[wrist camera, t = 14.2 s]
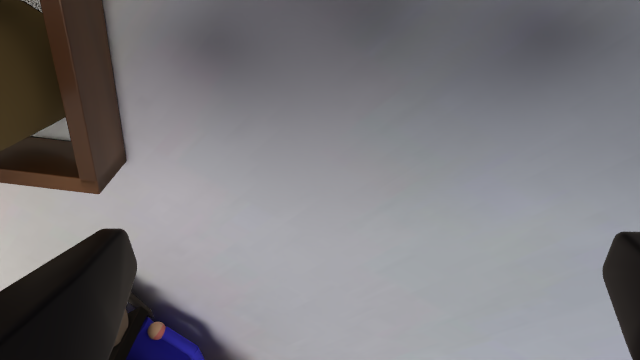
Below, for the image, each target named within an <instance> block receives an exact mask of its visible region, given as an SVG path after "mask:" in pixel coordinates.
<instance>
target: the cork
mask: <svg viewBox="0 0 640 360" xmlns="http://www.w3.org/2000/svg"><path fill="white" fill-rule="evenodd" d="M64 117H66V115H65V111H64V107H63V102H62V98H61V93H60V89H59V84H58V80H57V75H56V71H55V66H54V62H53V57H52V53H51V48H50V44H49V39H48V35H47V30H46V26H45V21H44V17H43V14H42V13H41V12H39V11H37V10H36V9H34V8H33V7H31V6H29V5H28V4H26V3H25V2H23V1H19V0H0V151H2V150H4V149H6V148H8V147H10V146H12V145H14V144H16V143H17V142H19V141H21V140H23V139H25V138H27V137H29V136H31V135H33V134H35V133H36V132H38V131H40V130H42V129H44V128H46V127H48V126H50V125H52V124H54V123H55V122H57V121H59V120H61V119H63V118H64Z"/></svg>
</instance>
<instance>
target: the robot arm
mask: <svg viewBox="0 0 640 360" xmlns="http://www.w3.org/2000/svg"><path fill="white" fill-rule="evenodd" d="M136 271H137V262H136V258H135V255H134V252H133V249H132V246H131V243H130V240H129V237H128V235H127V233H126V231H125V230H123V229H101V230H99V231H98V232H96V233H94V234H93V235H91V236H90V237H88V238H86V239H85V240H83V241H81V242H80V243H78V244H77V245H75V246H73V247H72V248H70V249H68V250H67V251H65V252H64V253H62V254H60V255H59V256H57V257H55V258H54V259H52V260H50V261H49V262H47V263H46V264H44V265H42V266H41V267H39V268H37V269H36V270H34V271H33V272H31V273H29V274H28V275H26V276H24V277H23V278H21V279H20V280H18V281H16V282H15V283H13V284H11V285H10V286H8V287H7V288H5V289H3V290H2V291H0V360H108V359H109V357H110V354H111V352H112V349H113V347H114V344H115V341H116V338H117V335H118V332H119V329H120V325H121V322H122V319H123V315H124V312H125V309H126V305H127V302H128V299H129V296H130V292H131V289H132V286H133V282H134V279H135V276H136ZM603 278H604V282H605V285H606V287H607V290H608V293H609V296H610V299H611V302H612V304H613V307H614V310H615V313H616V316H617V319H618V321H619V324H620V327H621V330H622V333H623V335H624V338H625V341H626V344H627V346H628V349H629V352H630V354H631V357H632V359H633V360H640V232H620V233H618V234H617V235H616V236H615V238H614V240H613V242H612V245H611V247H610V250H609V252H608V255H607V257H606V260H605V262H604V265H603Z"/></svg>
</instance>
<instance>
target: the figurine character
mask: <svg viewBox="0 0 640 360" xmlns="http://www.w3.org/2000/svg"><path fill="white" fill-rule="evenodd" d="M128 302H129V303H130V304H131V305H133V306H134V307H135V308H136V309H135V310H133V311H132V312H130V313H128V314H127V311H126V309H125V312H124V315H123V319H122V322H121V325H120V329H119V332H118V335H117V338H116V341H115V344H114V347H113V349H112V352H111V354H110V357H109V359H108V360H205V359H204V357H203V355H202V353H201V351H200V349H199V347H198V346H197V345H196V344H194V343H193V342H191V341H189V340H188V339H186V338H185V337H183V336H181V335H180V334H178V333H177V332H175V331H174V330H172V329H170V328H169V327H167V326H166V327H165V325H164V324H163V323H162V322H153V321H152V320H151V319H150V318H149V317H151V318H154V316H153V314H152V311H151V309H150V308H149V307H147V306H146V305H145V304H144V303H143V302H142V301H141V300H140V299H138V298H137V297H136V296H135V295H134V294H133V293H132V292H130V296H129V299H128Z"/></svg>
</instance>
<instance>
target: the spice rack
mask: <svg viewBox="0 0 640 360" xmlns="http://www.w3.org/2000/svg"><path fill="white" fill-rule="evenodd" d="M40 3H41V8H42V12H43V17H44V21H45V26H46V30H47V35H48V39H49V44H50V48H51V53H52V57H53V62H54V66H55V71H56V75H57V80H58V84H59V89H60V93H61V98H62V102H63V107H64V111H65V115H66V120H67V124H68V129H69V133H70V138H71V142H69V141H60V140H52V139H43V138H35V137H27V138H25V139H23V140H21V141H19V142H17V143H16V144H14V145H12V146H10V147H8V148H6V149H4V150H2V151H0V183H8V184H17V185H25V186H34V187H42V188H50V189H59V190H67V191H76V192H84V193H93V194H100V193H101V192H102V190H103V189H104V188H105V187H106V185H107V184H108V183H109V182H110V181H111V179H112V178H113V177H114V176H115V174H116V173H117V172H118V171H119V170H120V168H121V167H122V166H123V165H124V163H125V162H126V155H125V149H124V142H123V136H122V129H121V123H120V116H119V110H118V103H117V97H116V90H115V84H114V77H113V71H112V64H111V57H110V51H109V44H108V38H107V31H106V25H105V18H104V12H103V5H102V0H40Z"/></svg>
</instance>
